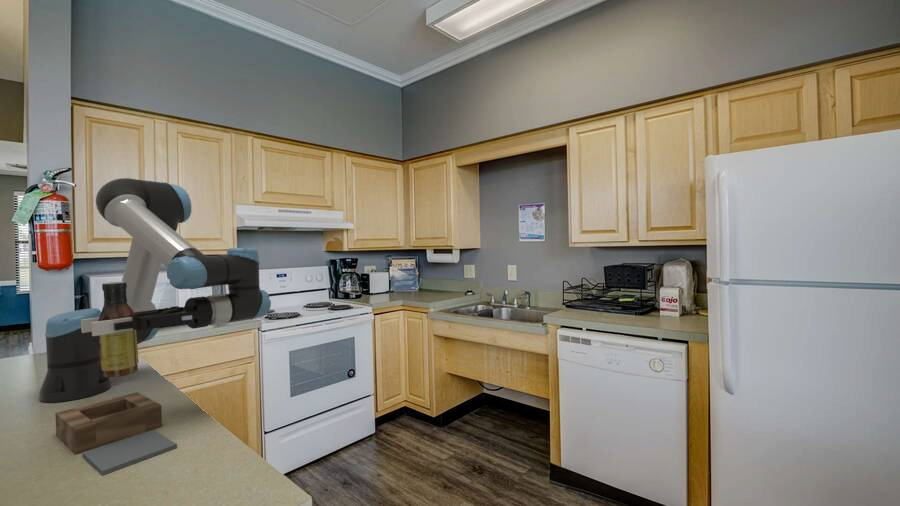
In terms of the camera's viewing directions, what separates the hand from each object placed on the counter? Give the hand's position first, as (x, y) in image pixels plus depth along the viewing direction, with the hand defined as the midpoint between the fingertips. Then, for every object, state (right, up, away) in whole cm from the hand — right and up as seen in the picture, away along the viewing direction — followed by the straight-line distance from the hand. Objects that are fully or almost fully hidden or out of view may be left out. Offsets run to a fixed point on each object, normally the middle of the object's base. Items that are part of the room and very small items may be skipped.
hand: (87, 327), depth 84 cm
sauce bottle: (+3, -11, +4) cm, 12 cm away
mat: (+10, -25, -1) cm, 27 cm away
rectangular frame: (-3, -25, +9) cm, 27 cm away
